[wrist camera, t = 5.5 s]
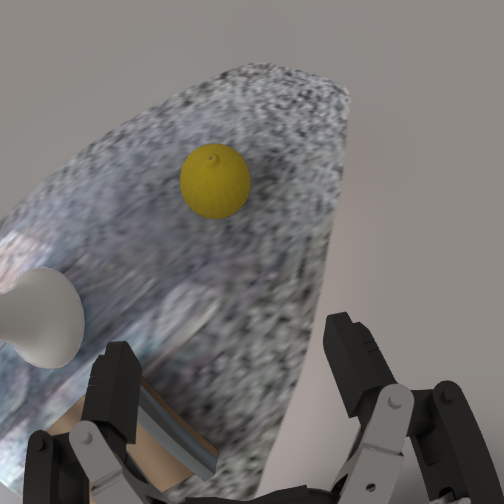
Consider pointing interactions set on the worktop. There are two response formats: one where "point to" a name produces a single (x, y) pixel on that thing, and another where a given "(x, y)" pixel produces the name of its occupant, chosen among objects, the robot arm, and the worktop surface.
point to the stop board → (157, 442)
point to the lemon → (215, 181)
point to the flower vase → (42, 318)
